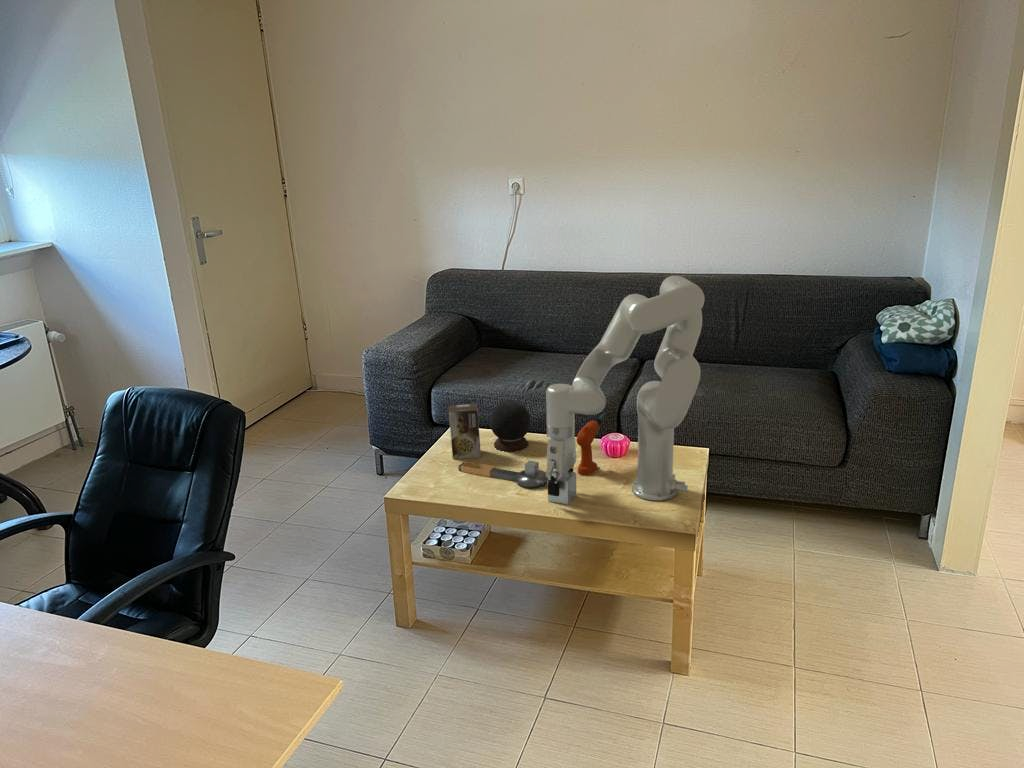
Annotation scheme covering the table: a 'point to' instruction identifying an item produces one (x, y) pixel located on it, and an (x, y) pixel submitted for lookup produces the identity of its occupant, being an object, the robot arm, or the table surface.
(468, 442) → the coffee box
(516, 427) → the black ball on stand
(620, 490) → the table surface
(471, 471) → the ratchet
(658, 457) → the robot arm
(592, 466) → the toy drill
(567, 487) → the socket
